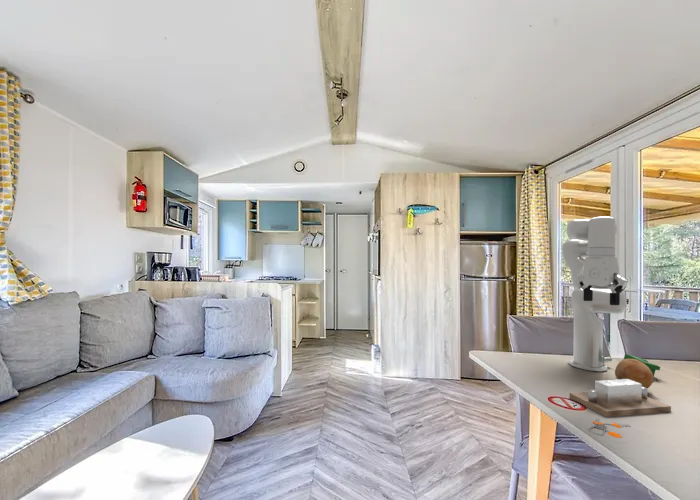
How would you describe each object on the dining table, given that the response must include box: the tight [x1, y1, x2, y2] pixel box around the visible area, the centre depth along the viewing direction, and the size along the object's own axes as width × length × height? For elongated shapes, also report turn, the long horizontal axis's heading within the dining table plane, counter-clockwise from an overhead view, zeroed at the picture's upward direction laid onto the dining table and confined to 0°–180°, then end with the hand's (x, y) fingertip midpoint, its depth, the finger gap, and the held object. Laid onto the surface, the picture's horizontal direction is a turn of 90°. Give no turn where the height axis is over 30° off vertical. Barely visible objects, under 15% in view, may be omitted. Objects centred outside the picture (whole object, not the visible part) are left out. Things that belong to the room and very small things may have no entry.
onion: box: [614, 358, 655, 389], centre depth 110 cm, size 10×10×10 cm
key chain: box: [587, 417, 632, 439], centre depth 84 cm, size 13×7×1 cm, turn 127°
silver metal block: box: [594, 379, 642, 403], centre depth 98 cm, size 4×12×5 cm, turn 101°
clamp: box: [623, 353, 661, 377], centre depth 126 cm, size 12×6×9 cm, turn 162°
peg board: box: [569, 387, 672, 418], centre depth 98 cm, size 22×12×4 cm, turn 101°
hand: (600, 302), depth 112 cm, fingers open, 9 cm apart
